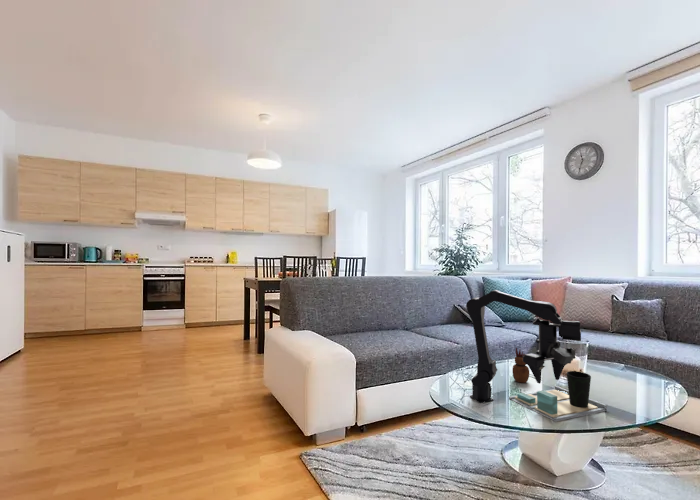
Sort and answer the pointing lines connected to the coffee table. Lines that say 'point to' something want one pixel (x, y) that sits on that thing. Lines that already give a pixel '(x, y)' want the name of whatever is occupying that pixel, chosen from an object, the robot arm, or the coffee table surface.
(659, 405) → the coffee table surface
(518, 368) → the wooden figurine
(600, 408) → the lane board
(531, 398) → the broken strip
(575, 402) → the cup
